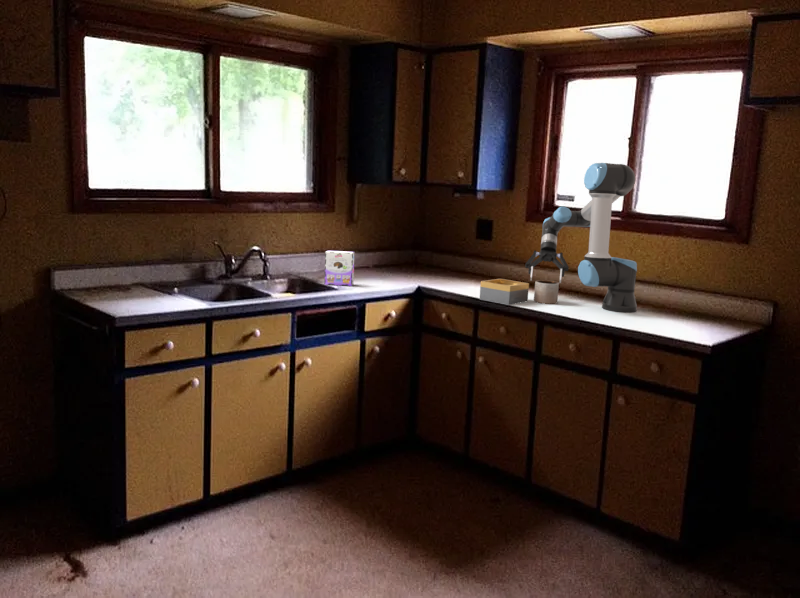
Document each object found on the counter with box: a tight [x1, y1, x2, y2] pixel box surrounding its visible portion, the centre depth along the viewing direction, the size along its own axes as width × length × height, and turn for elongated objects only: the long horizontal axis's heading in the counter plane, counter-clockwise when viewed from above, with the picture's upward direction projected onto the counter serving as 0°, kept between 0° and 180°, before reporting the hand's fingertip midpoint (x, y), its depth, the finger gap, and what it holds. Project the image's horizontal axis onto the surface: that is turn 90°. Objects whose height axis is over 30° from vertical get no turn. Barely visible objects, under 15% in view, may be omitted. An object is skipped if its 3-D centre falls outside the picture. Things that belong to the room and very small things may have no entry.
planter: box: [533, 279, 560, 305], centre depth 346 cm, size 11×11×10 cm
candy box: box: [323, 250, 355, 287], centre depth 365 cm, size 14×6×16 cm, turn 84°
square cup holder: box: [479, 278, 530, 306], centre depth 345 cm, size 16×16×8 cm
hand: (545, 280), depth 351 cm, fingers open, 13 cm apart
